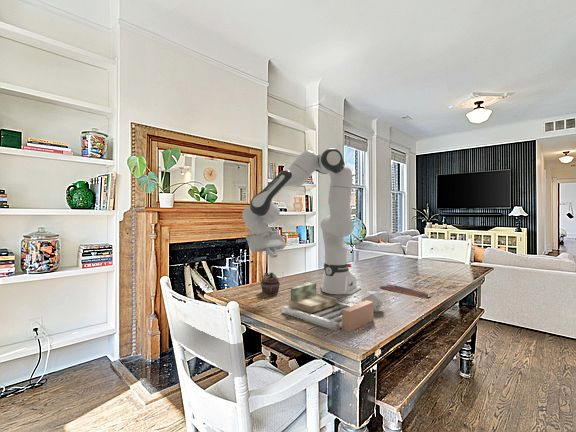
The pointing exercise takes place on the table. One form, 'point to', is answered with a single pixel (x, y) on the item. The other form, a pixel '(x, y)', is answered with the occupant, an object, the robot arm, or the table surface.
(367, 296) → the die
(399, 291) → the wooden tablet
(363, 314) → the block
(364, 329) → the table surface
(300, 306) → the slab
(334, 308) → the roller track
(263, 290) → the cupcake
